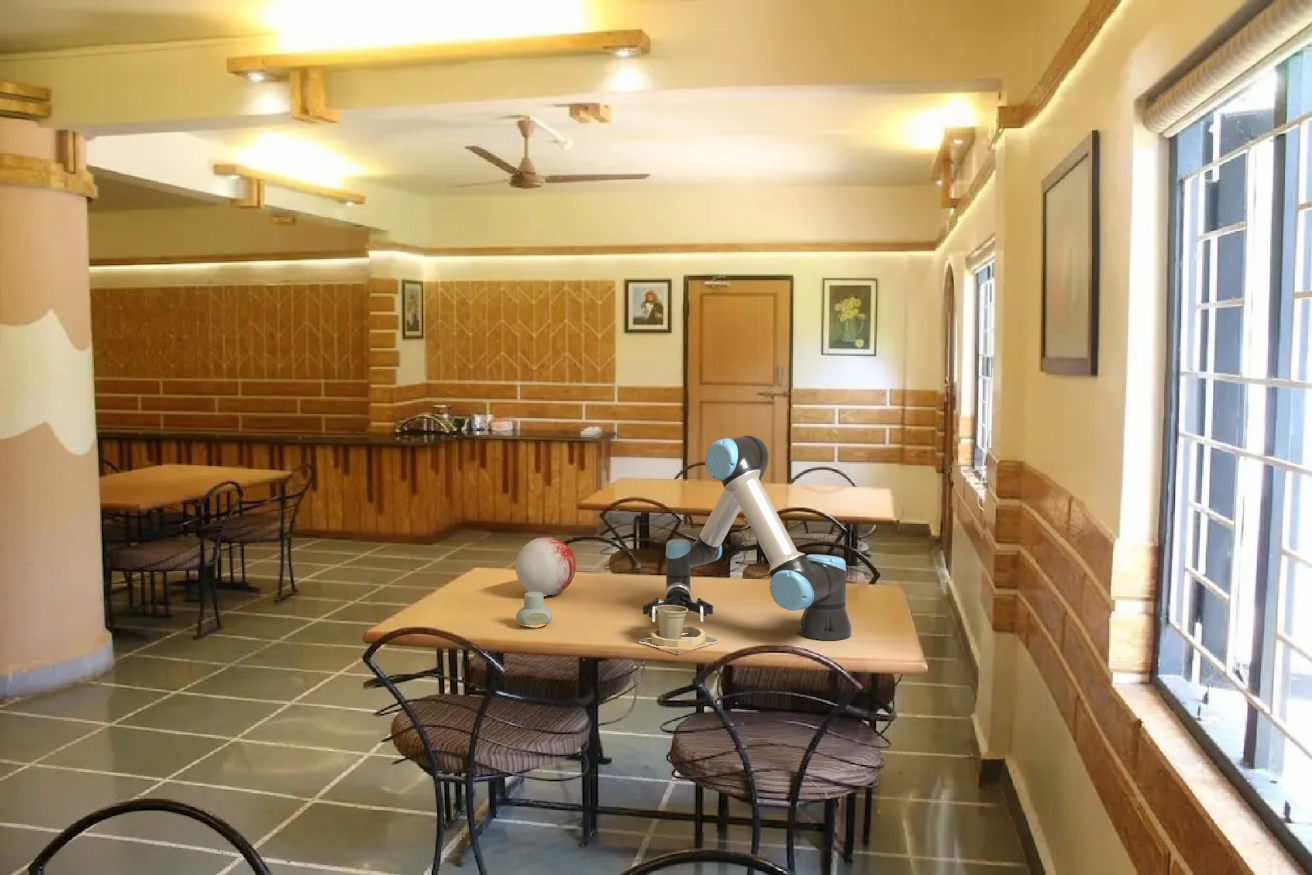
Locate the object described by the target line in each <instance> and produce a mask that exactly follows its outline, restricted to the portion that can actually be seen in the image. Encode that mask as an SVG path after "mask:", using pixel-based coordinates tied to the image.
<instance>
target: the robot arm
mask: <svg viewBox="0 0 1312 875" xmlns="http://www.w3.org/2000/svg"><path fill="white" fill-rule="evenodd" d="M769 459H770V455H769V450H768V448H767V446H766V444H765V443H764V442H763V441H762V439H760V438H759V437H757V436H753V435H742V436H735V437H724V438H721V439H718V440H716V441H713V442H712V443H710V445H709V446H708V447H707V450H706V453H705V456H704V466H705V469H706V472H707V473H708V475H709V477H710V478H712V479H714V480H716V481H720V483H721V484H722V486H723V488H724V489H723V490H722V492H721V495H720V496H719V498H718V500H717V501H716V504H715V505H714V508H713V509H712V511H711V513H710V515H709V517H708V518H707V521H706V523H705V524H704V526H703V528H702V530H701V532H700V533H699V535H698V537H697V538H696V540H695V541H692V542H690V541H689V540H688V539H684V538H676V539H675V538H674V539H670V540H668V541H667V542H666V546H665V569H666V570H665V571H666V574H665V578H666V579H665V591H666V592H665V599H664V600H661V599H660V598H659V597H655V598H654V599H653V600H652V601H650V602H648V603H645V604H644V605H642V615H647V614H648V617H649V618H651V620H652V623H655V622H656V618H657V617H656V614H657V610H656V609H655V607H656V606H659V605H676V606H682V607H685V608H687V609H688V611H687V613H689V612H693V613H696V614H700V615H699V617H700V622H701V623H703V622H704V617H708V615H713V614H714V605H713V604H711V603H709V602H706V601H705V600H703V599H702V598H700V597H698V598H696V599H695V600H692V598H691V591H692V590H691V585H692V584H691V569H692V568H694V567H698V566H703V565H707V564H711V563H714V562H715V561H718V560H719V559H720V558H721V557H722V554H723V547H722V543H723V542H724V540H725V539H726V536H727V535H728V532H729V531H730V530H731V529H730V528H732V526H733V523H734V522H735V520H736V519H737V517H738V515H739V513H740V511H741V512H742V513H743V515H744V517H745V518H746V521H747V522H748V525H749V527H750V528H751V531H752V532H753V535H754V536H755V539H756V540H757V542H758V544H759V546H760V548H761V549H762V552H763V553H764V555H765V557H766V559H767V561H768V563H769V570H768V575H769V576H770V578H771V579H770V581H769V585H770V586H769V592H770V595H771V597H772V600H774V602H775V603H776V604H777V605H778V606H779V607H780V608H782V609H784V610H787V611H793V612H794V611H795V612H796V611H799V610H803V613H802V616H801V619H800V622H799V628H798V629H799V630H798V631H799V634H800V635H801V636H802V637H805V638H807V637H809V638H808V639H811V638H813V639H812V640H816V639H819V640H818V641H839V640H844V639H847V638H849V637H851V636H852V625H851V622H850V618H849V615H848V611H847V608H846V603H847V602H846V601H847V599H846V596H847V595H846V594H847V589H846V588H847V567H846V566H847V565H846V564H847V563H846V561H845V559H844V558H842V557H840V556H835V555H829V554H828V555H827V554H808V555H806V554H805V553H803V552H802V551H801V552H800V551H798V549H797V548H796V546H795V545H794V542H793V541H792V538H791V537H790V534H789V533H788V531H787V528H786V527H785V525H784V523H783V522H782V520H781V517H780V516H779V514H778V512H777V511H776V509H775V507H774V505H773V502H772V501H771V499H770V497H769V496H768V493H767V491H766V490H765V488H764V486H763V484H762V483H761V480H762V478H763V476H764V475H765V473H766V472H767V469H768V466H769V461H770V460H769ZM657 615H658V614H657Z"/></svg>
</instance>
